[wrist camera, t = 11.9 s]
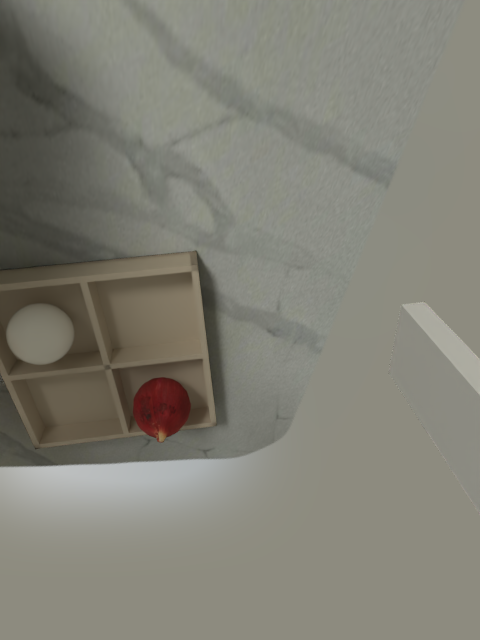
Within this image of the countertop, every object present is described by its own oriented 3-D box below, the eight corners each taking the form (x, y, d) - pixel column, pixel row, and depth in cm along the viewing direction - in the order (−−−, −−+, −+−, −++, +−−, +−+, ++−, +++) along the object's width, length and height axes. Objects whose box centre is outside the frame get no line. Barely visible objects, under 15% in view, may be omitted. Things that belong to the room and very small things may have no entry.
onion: (124, 378, 46) (115, 435, 39) (168, 353, 45) (167, 406, 38) (157, 410, 49) (154, 467, 42) (199, 387, 48) (203, 442, 41)
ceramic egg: (28, 344, 43) (9, 381, 38) (9, 295, 40) (-15, 328, 35) (86, 338, 43) (74, 373, 38) (71, 288, 40) (56, 320, 35)
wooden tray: (42, 428, 49) (35, 449, 47) (-25, 272, 39) (-39, 288, 36) (214, 407, 51) (216, 425, 48) (196, 250, 40) (197, 264, 37)
